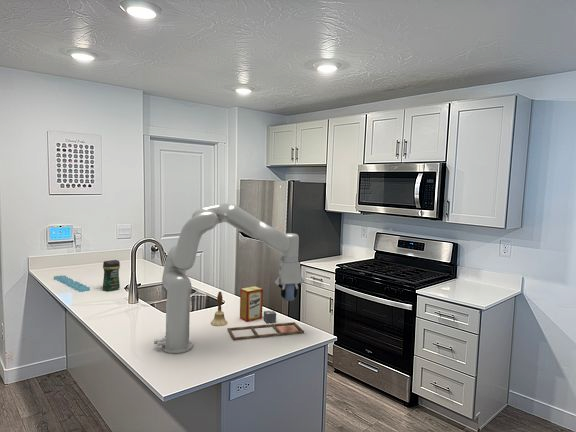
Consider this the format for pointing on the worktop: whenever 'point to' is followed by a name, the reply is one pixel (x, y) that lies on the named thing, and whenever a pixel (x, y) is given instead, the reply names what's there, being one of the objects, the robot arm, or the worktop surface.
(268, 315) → the die
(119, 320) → the worktop surface
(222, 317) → the hand bell
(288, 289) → the blue cylinder
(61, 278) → the letter sign
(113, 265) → the coffee jar
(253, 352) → the worktop surface
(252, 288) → the baking soda box
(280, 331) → the board
